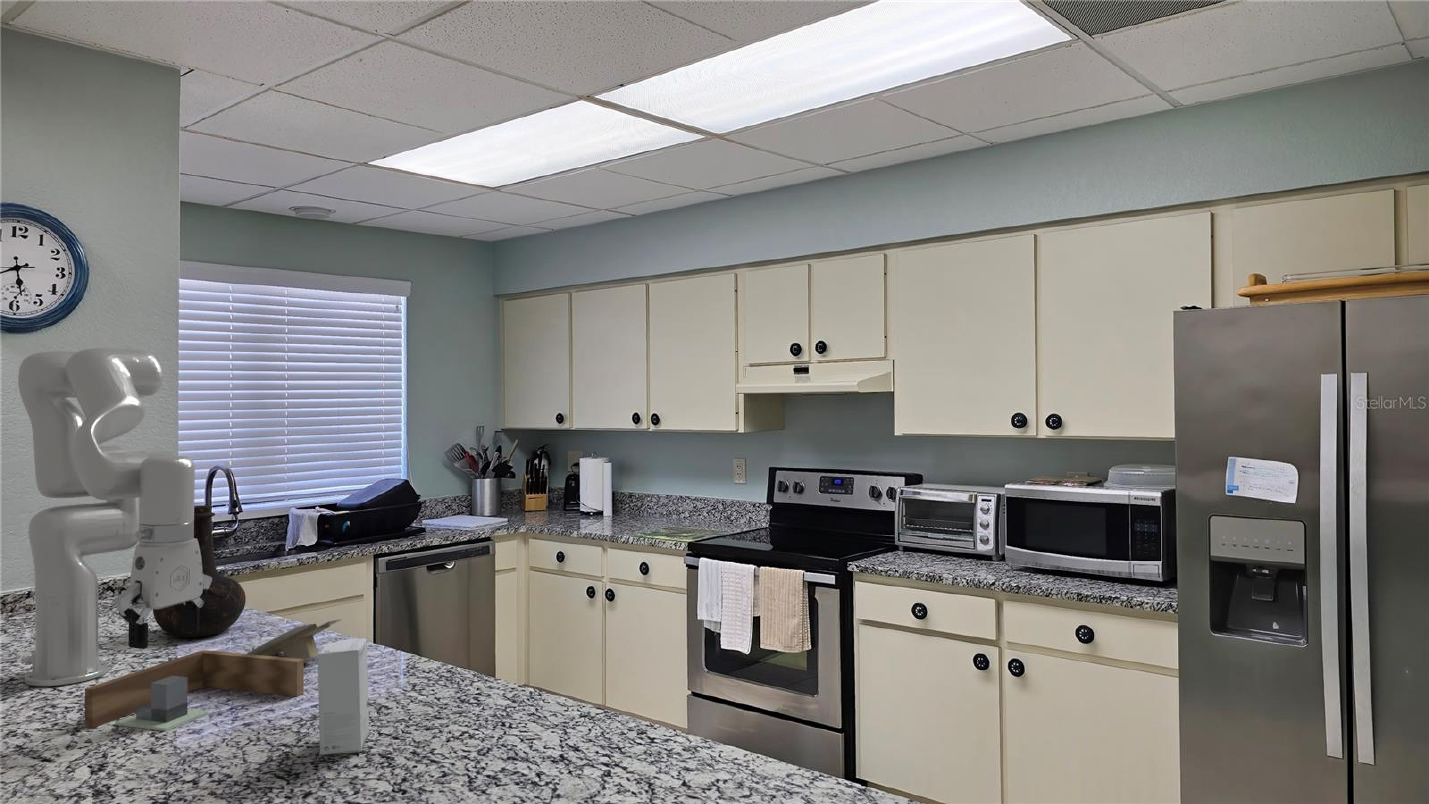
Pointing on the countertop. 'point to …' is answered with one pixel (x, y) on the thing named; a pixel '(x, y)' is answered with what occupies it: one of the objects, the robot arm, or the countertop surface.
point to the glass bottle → (222, 594)
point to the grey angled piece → (294, 643)
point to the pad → (161, 725)
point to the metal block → (165, 700)
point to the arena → (195, 681)
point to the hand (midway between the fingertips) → (164, 639)
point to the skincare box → (343, 696)
